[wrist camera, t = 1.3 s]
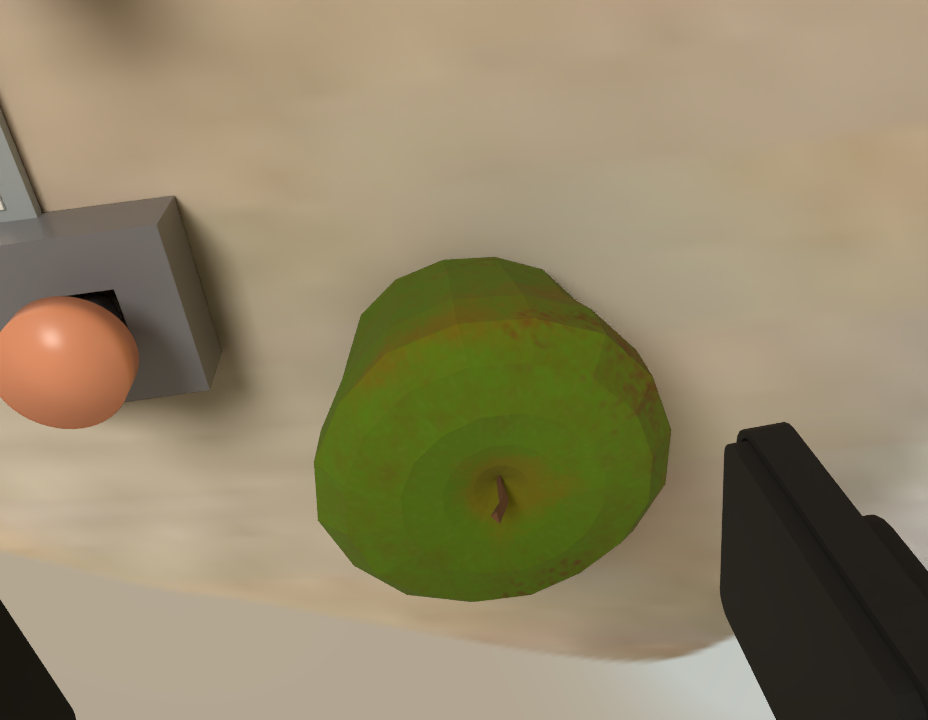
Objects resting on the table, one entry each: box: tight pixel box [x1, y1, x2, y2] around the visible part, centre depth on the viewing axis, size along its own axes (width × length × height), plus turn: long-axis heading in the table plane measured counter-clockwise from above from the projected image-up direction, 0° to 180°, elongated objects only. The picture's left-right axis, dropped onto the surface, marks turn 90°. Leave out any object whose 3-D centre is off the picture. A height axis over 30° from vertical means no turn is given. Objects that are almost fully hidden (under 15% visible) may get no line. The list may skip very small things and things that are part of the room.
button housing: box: [0, 196, 222, 402], centre depth 31 cm, size 7×7×3 cm
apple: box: [314, 257, 671, 602], centre depth 30 cm, size 12×12×11 cm
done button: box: [0, 294, 139, 429], centre depth 29 cm, size 4×4×4 cm
